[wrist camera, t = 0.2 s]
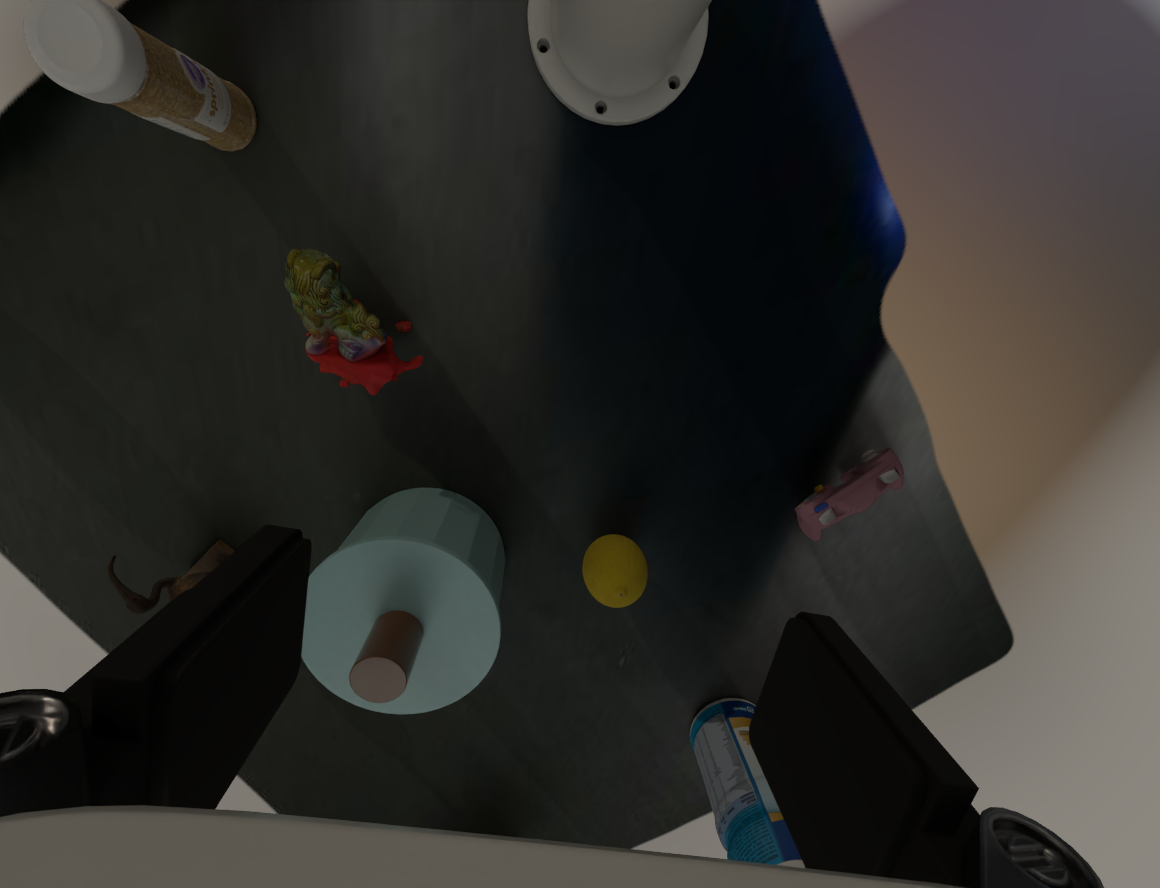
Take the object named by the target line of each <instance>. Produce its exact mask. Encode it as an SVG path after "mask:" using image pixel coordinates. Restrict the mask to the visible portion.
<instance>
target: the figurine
mask: <svg viewBox="0 0 1160 888" xmlns="http://www.w3.org/2000/svg"><path fill="white" fill-rule="evenodd" d="M234 551H235V550H233V549H232V548H231V547H230V546H228V545H227V544H226V543H225V542H223V541H222V540H221V539H220V540H219V541H218V542H216V543H215V544H214V545H213V546H212V547H211V548H210V549H209V550H208V551H207V552H206V553H205V554H204V556H203V557H202V558H201V559H200V560H199V561H198V562H197V563H196V564H195V565H194V566H193V567H192V568H191V569H190V570H189V571H188V572H187V573H186V574H185V575H186V576H182V577H177V578H166V579H162V580H159V581H158V582H156V583H155V584H154V586H153V588H152V592H151V596H150V598H149V599H147V598H145V597H144V596H141V595H139V594H137V593H135V592H133V591H131V590H130V589H129V588H127V587H126V586H125V585H123V584H122V583H121V582H120V581H119V579H118V578H117V577H116V575H115V574H114V571H113V563H114V561H115V558H116V556H113V557H112V558H111V560H110V562H109V565H108V574H109V578H110V580H111V582H112V584H113V585H114V587H115V589H116V590H117V591H118V593H119V594H120V595H121V596H122V598H123V599H124V600H125V602H126V607H127V608H128V609H129V610H130V611H131V612H133V613H136V614H141V613H144V612H147V611H149V610H151V609H152V608H154V607H155V605H156V604H157V603H158V601H159V598H160V592H161V589H162V588H168V595H169V600H170V602H171V601H172V600H173V599H174V598H176V597H177V596H178V595H179V594H181V593H182V592H184V591H185V590H188V589H191V588H192V587H194V586H195V585H196V584H197V583H198V582H199V581H200V580H202V579H203V578H204V577H205V576H206V575H207V574H209V573H210V572H211V571H212V570H213V569H214V568H216V567H217V566H218V565H219V564H220V563H221V562H223V561H224V560H225V559H226V558H227V557H228V556H230V555H231V554H232V553H233V552H234Z"/></svg>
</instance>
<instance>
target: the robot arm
mask: <svg viewBox="0 0 1160 888" xmlns="http://www.w3.org/2000/svg"><path fill="white" fill-rule="evenodd" d="M711 1H712V0H529V2H528V14H527V16H528V32H529V38H530V44H531V50H532V53H533V56H534V59H535V62H536V65H537V68H538V70H539V72H540V74H541V75H542V77H543V79H544V81H545V83H546V85H547V86H548V87H549V89H550V90H551V91H552V92H553V94H554V95H555V96H556V97H557V99H558V100H559V101H561V102H562V103H563V104H564V105H565V106H566V107H568V108H569V109H570V110H571V111H573V112H574V113H576V114H578V115H580V116H581V117H583V118H585V119H587V120H591V121H594V122H597V123H600V124H606V125H616V126H618V125H627V124H634V123H637V122H640V121H643V120H646V119H649V118H651V117H652V116H654V115H656V114H657V113H659V112H661V111H663V110H664V109H665V108H666V107H667V106H668V105H670V104H671V103H672V102H673V101H674V100H675V99H676V98H677V97H678V96H679V94H680V93H681V92H682V91H683V90H684V88H685V87H686V85H687V84H688V82H689V81H690V79H691V78H692V76H693V74H694V73H695V71H696V68H697V66H698V64H699V61H700V59H701V57H702V54H703V50H704V46H705V42H706V37H707V29H708V17H709V14H708V6H709V4H710V3H711ZM542 47H545V48H546V49H547V51H546V53H541V52H540V48H542ZM670 83H673V84H674V85H675V89H671V88H670V87H669V84H670ZM598 107H601V108H602V109H603V113H602V114H599V113H597V108H598ZM310 557H311V541H310V539H304V538H303V535H302V532H301V530H299V529H293V528H286V527H280V526H274V525H265V526H263V527H262V528H261V529H260V530H259V531H257V532H256V533H255V534H254V535H253V536H252V537H250V538H249V539H248V540H247V541H246V542H245V543H244V544H242V545H241V546H240V547H239V548H238V549H237V550H235V551H234V552H233V553H232V554H231V555H230V556H228V557H227V558H226V559H225V560H224V561H223V562H221V563H220V564H219V565H218V566H217V567H216V568H214V569H213V570H212V571H211V572H210V573H209V574H207V575H206V576H205V577H204V578H203V579H202V580H200V581H199V582H198V583H197V584H196V585H195V586H194V587H192V588H191V589H188V590H185V591H184V592H182V593H181V594H179V595H178V596H177V597H176V598H174V599H173V600H172V601H171V602H170V603H168V604H167V605H166V606H165V607H164V608H163V609H161V610H160V611H159V612H158V613H157V614H155V615H154V616H153V617H152V618H151V619H150V620H148V621H147V622H146V623H145V624H144V625H143V626H141V627H140V628H139V629H138V630H137V631H135V632H134V633H133V634H132V635H131V636H130V637H128V638H127V639H126V640H125V641H124V642H122V643H121V644H120V645H119V646H118V647H117V648H115V649H114V650H113V651H112V652H111V653H109V654H108V655H107V656H106V657H105V658H104V659H103V660H101V661H100V662H99V663H98V664H97V665H96V666H94V667H93V668H92V669H91V670H89V672H87V673H86V674H85V675H84V676H82V677H81V678H80V679H79V680H78V681H77V682H75V683H74V684H73V685H72V686H71V687H69V688H68V689H67V690H66V691H65V692H64V693H63V692H58V691H53V690H48V689H23V690H16V691H11V692H5V693H0V888H1104V887H1103V885H1102V882H1101V880H1100V878H1099V877H1098V876H1097V875H1096V873H1095V872H1094V870H1093V869H1092V868H1091V866H1090V865H1089V864H1088V863H1087V862H1086V861H1085V860H1084V859H1083V858H1082V857H1081V856H1080V855H1079V854H1078V853H1077V852H1076V851H1075V850H1074V849H1073V848H1072V847H1071V846H1070V845H1069V844H1067V843H1066V842H1065V841H1063V840H1062V839H1061V838H1060V837H1059V836H1057V835H1056V834H1055V833H1053V832H1052V831H1050V830H1049V829H1047V828H1046V827H1044V826H1042V825H1041V824H1039V823H1038V822H1036V821H1034V820H1032V819H1030V818H1028V817H1026V816H1024V815H1022V814H1020V813H1018V812H1015V811H1011V810H1008V809H1005V808H997V807H996V808H995V807H990V808H988V809H986V810H984V811H982V813H981V815H979V813H978V812H977V811H976V810H975V808H974V807H973V806H972V805H971V803H972V801H973V799H974V797H975V795H976V793H977V791H978V789H979V788H978V787H977V786H976V784H975V783H974V782H973V781H972V780H971V779H970V777H969V776H968V775H967V774H966V773H965V772H964V770H963V769H962V768H961V767H960V766H959V765H958V763H957V762H956V761H955V760H954V759H953V758H952V756H951V755H950V754H949V753H948V752H947V751H946V749H945V748H944V747H943V746H942V745H941V744H940V743H939V741H938V740H937V739H936V738H935V737H934V736H933V734H932V733H931V732H930V731H929V730H928V729H927V727H926V726H925V725H924V724H923V723H922V722H921V720H920V719H919V718H918V717H917V716H916V715H915V713H914V712H913V711H912V710H911V709H910V708H909V706H908V705H907V704H906V703H905V702H904V701H903V699H902V698H901V697H900V696H899V695H898V694H897V692H896V691H895V690H894V689H893V688H892V687H891V685H890V684H889V683H888V682H887V681H886V680H885V678H884V677H883V676H882V675H881V674H880V673H879V672H878V670H877V669H876V668H875V667H874V666H873V665H872V663H871V662H870V661H869V660H868V659H867V658H866V656H865V655H864V654H863V653H862V652H861V651H860V649H859V648H858V647H857V646H856V645H855V644H854V642H853V641H852V640H851V639H850V638H849V637H848V635H847V634H846V633H845V632H844V631H843V630H842V628H841V627H840V626H839V625H838V624H837V623H836V622H835V620H834V619H833V618H831V617H830V616H825V615H819V614H813V613H807V612H800V613H798V614H797V615H796V616H795V618H790V619H789V620H788V621H787V623H786V626H785V628H784V631H783V634H782V637H781V639H780V642H779V645H778V648H777V650H776V653H775V656H774V659H773V661H772V664H771V667H770V670H769V672H768V675H767V678H766V681H765V683H764V686H763V689H762V692H761V695H760V697H759V700H758V703H757V706H756V708H755V711H754V714H753V717H752V719H751V722H750V726H749V740H750V744H751V747H752V749H753V751H754V754H755V756H756V758H757V760H758V763H759V765H760V767H761V769H762V772H763V774H764V776H765V778H766V781H767V783H768V785H769V787H770V790H771V792H772V794H773V796H774V798H775V801H776V803H777V805H778V807H779V810H780V812H781V814H782V816H783V819H784V821H785V823H786V825H787V828H788V830H789V832H790V834H791V837H792V839H793V841H794V843H795V846H796V848H797V850H798V852H799V855H800V857H801V859H802V861H803V864H804V866H805V868H799V867H790V866H781V865H772V864H763V863H754V862H745V861H736V860H727V859H718V858H709V857H699V856H690V855H681V854H671V853H661V852H652V851H643V850H633V849H624V848H614V847H605V846H595V845H586V844H576V843H566V842H557V841H547V840H537V839H528V838H518V837H508V836H498V835H488V834H478V833H467V832H457V831H447V830H437V829H427V828H416V827H406V826H396V825H386V824H376V823H365V822H355V821H345V820H335V819H324V818H314V817H303V816H292V815H282V814H271V813H260V812H249V811H232V810H231V811H230V810H216V809H215V808H216V807H217V805H218V804H219V801H220V800H221V799H222V797H223V795H224V794H225V792H226V791H227V789H228V788H229V786H230V784H231V783H232V781H233V780H234V778H235V777H236V775H237V773H238V772H239V770H240V769H241V767H242V765H243V764H244V762H245V761H246V759H247V758H248V756H249V754H250V753H251V751H252V750H253V748H254V746H255V745H256V743H257V742H258V740H259V738H260V737H261V735H262V734H263V732H264V730H265V729H266V727H267V726H268V724H269V723H270V721H271V719H272V718H273V716H274V715H275V713H276V711H277V710H278V708H279V707H280V705H281V703H282V702H283V700H284V699H285V697H286V695H287V694H288V692H289V691H290V689H291V688H292V686H293V684H294V682H295V680H296V678H297V675H298V672H299V668H300V663H301V653H302V642H303V632H304V621H305V611H306V600H307V589H308V579H309V568H310Z"/></svg>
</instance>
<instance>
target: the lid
mask: <svg viewBox="0 0 1160 888" xmlns="http://www.w3.org/2000/svg"><path fill="white" fill-rule="evenodd" d="M500 636H501V617H500V612H499V607H498V604H497V601H496V598H495V596H494V594H493V592H492V590H491V588H490V586H489V585H488V583H487V582H486V581H485V579H484V578H483V576H482V575H481V574H480V573H479V572H478V571H477V570H476V569H475V567H473V566H472V565H471V564H470V563H469V562H468V561H466V560H465V559H464V558H462V557H461V556H459V555H458V554H456V553H455V552H453V551H451V550H449V549H447V548H445V547H443V546H441V545H438V544H436V543H433V542H430V541H427V540H423V539H418V538H414V537H405V536H382V537H374V538H369V539H365V540H361V541H358V542H355V543H352V544H350V545H347V546H345V547H343V548H341V549H340V550H338V551H336V552H334V553H333V554H331V555H330V556H329V557H327V558H326V559H325V560H324V561H323V562H322V563H321V564H319V565H318V566H317V567H316V568H315V570H314V571H313V572H312V573H311V575H310V576H309V579H308V589H307V600H306V611H305V621H304V632H303V642H302V653H301V657H302V659H303V661H304V662H305V664H306V665H307V667H308V668H309V670H310V671H311V673H312V674H313V675H314V676H315V677H316V678H317V679H318V681H319V682H321V683H322V684H323V685H324V686H325V687H326V688H327V689H329V690H330V691H331V692H333V693H334V694H336V695H337V696H339V697H340V698H342V699H344V700H346V701H348V702H350V703H352V704H354V705H357V706H359V707H362V708H365V709H369V710H372V711H377V712H382V713H389V714H415V713H422V712H427V711H431V710H436V709H439V708H441V707H444V706H447V705H449V704H451V703H453V702H455V701H457V700H459V699H460V698H462V697H463V696H465V695H466V694H468V693H469V692H470V691H472V690H473V689H474V688H475V687H476V686H477V685H478V684H479V683H480V682H481V681H482V680H483V678H484V677H485V676H486V674H487V673H488V671H489V670H490V668H491V667H492V665H493V662H494V660H495V658H496V655H497V652H498V649H499V644H500Z"/></svg>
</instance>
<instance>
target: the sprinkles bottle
mask: <svg viewBox="0 0 1160 888" xmlns="http://www.w3.org/2000/svg"><path fill="white" fill-rule="evenodd" d="M23 27H24V36H25V40H26V44H27V46H28V49H29V51H30V53H31V55H32V57H33V59H34V60H35V62H36V63H37V64H38V66H39V67H40V68H41V70H42V71H43V72H44V73H45V74H46V75H47V76H48V77H49V78H51V79H52V80H53V81H54V82H56V83H57V84H59V85H60V86H62V87H64V88H66V89H68V90H70V91H72V92H74V93H77V94H79V95H81V96H84V97H86V98H89V99H91V100H94V101H97V102H102V103H108V104H113V105H116V106H118V107H120V108H122V109H124V110H127V111H130V112H131V113H133V114H135V115H137V116H139V117H141V118H144V119H146V120H149V121H151V122H154V123H156V124H158V125H161V126H164V127H166V128H169V129H171V130H174V131H176V132H179V133H182V134H184V135H186V136H189V137H192V138H194V139H198V140H202V141H204V142H207V143H208V144H210V145H211V146H213V147H216V148H217V149H220V150H226V151H235V150H239V149H243V148H245V147H246V146H247V145H248V144H249V143H250V142H251V140H252V138H253V136H254V134H255V130H256V128H257V119H256V113H255V111H254V107H253V105H252V103H251V100H250V99H249V98H248V97H247V96H246V94H245V93H244V92H243V91H242V90H241V89H240V88H238V87H237V86H235V85H234V84H232V83H230V82H228V81H225V80H223V79H221V78H219V77H218V76H216V75H215V74H214V73H213V72H211V71H210V70H208V69H207V68H205V67H204V66H202V65H201V64H199V63H197V62H196V61H194V60H192V59H191V58H189V57H187V56H186V55H184V54H183V53H181V52H179V51H177V50H175V49H173V48H171V47H169V46H168V45H166V44H164V43H163V42H161V41H160V40H158V39H156V38H154V37H153V36H151V35H149V34H148V33H146V32H145V31H143V30H141V29H140V28H138V27H136V26H134V25H133V24H131V23H130V22H128V20H127V19H126V18H125V17H124V16H123V15H122V14H120V13H119V12H118V11H117V10H115V9H114V8H112V7H111V6H109V5H107V4H106V3H104V2H102V1H101V0H30V2H29V3H28V5H27V8H26V10H25V14H24V21H23Z"/></svg>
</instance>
